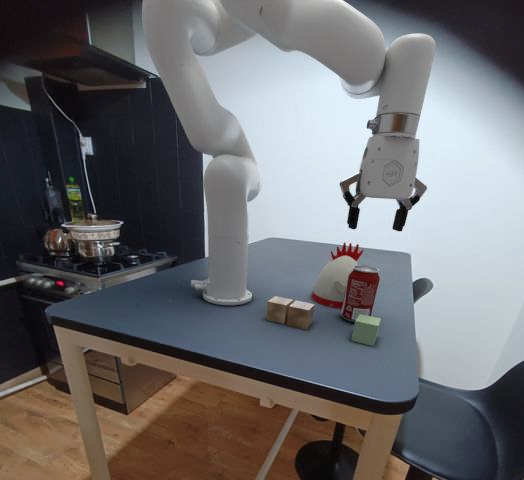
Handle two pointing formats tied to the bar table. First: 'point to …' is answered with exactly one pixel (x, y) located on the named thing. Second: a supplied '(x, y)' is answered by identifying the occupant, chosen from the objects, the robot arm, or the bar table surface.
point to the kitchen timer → (335, 277)
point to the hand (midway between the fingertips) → (374, 229)
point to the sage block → (366, 329)
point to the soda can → (360, 292)
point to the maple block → (278, 309)
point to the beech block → (300, 314)
